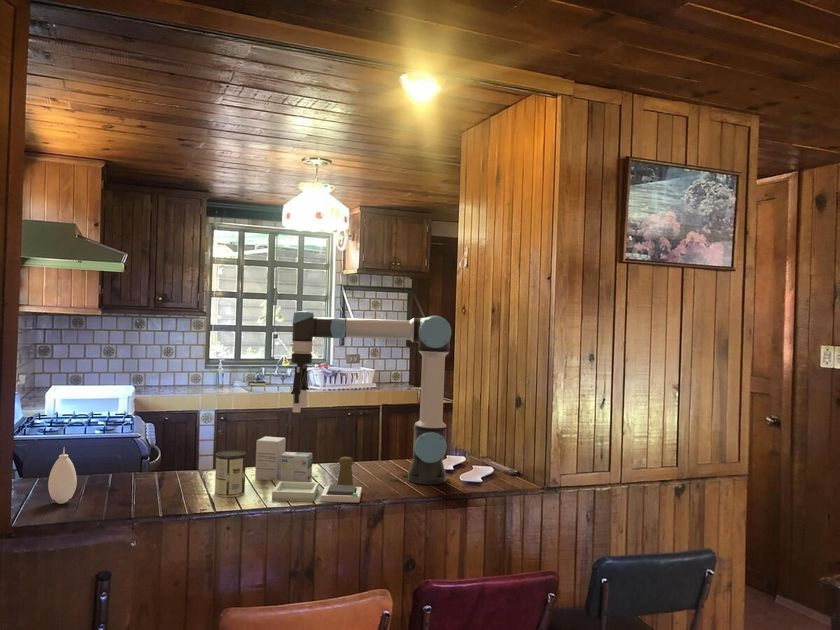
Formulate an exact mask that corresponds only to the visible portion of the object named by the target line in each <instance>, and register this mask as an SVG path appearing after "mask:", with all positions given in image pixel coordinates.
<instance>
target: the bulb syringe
mask: <svg viewBox="0 0 840 630" xmlns="http://www.w3.org/2000/svg"><path fill="white" fill-rule="evenodd" d="M65 452H66V448H65V446H64V447H63V451H62V454H60V455H58V458H57V460H56V461H55V462H54V464H53V466H52V468H51V470H50V473H49V476H48V485H47V487H48V493H49V495H50V498H51V499H52V501H54V502H55V503H57V504H59V505H60V504H65V503H67V502H69V500H71V499H72V497H73V496H74V494H75V491H76V488H77V482H78V481H77V480H78V477H77V473H76V468H75V466H74V463H73V462H72V460H71V459H70V458H69V454H67V453H65Z"/></svg>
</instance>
